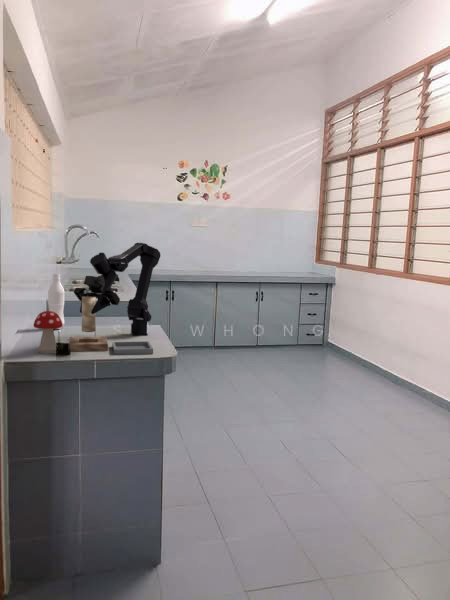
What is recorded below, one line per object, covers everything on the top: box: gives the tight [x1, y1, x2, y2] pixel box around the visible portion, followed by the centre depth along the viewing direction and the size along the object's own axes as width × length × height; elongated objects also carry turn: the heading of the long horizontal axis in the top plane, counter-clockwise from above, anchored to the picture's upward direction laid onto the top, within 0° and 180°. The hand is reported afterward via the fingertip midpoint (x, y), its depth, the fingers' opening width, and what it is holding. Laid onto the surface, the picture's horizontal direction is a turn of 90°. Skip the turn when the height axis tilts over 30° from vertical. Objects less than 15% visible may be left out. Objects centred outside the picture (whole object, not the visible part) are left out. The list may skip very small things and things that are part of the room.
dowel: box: [81, 296, 97, 333], centre depth 190 cm, size 5×5×13 cm
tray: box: [111, 341, 154, 356], centre depth 189 cm, size 14×14×2 cm
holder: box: [68, 336, 109, 352], centre depth 191 cm, size 14×14×2 cm
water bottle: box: [47, 273, 66, 330], centre depth 225 cm, size 7×7×25 cm
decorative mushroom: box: [33, 310, 63, 355], centre depth 179 cm, size 10×9×15 cm
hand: (86, 312), depth 188 cm, fingers closed on dowel, 5 cm apart
